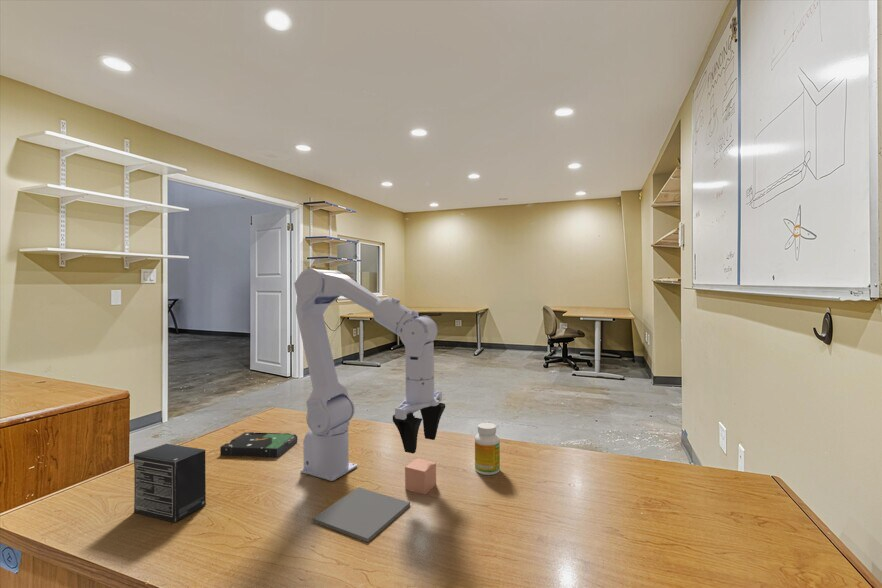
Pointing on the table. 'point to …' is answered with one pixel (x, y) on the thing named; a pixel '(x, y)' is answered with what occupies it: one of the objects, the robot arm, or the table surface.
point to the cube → (420, 476)
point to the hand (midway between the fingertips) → (420, 445)
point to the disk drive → (259, 445)
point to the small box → (169, 481)
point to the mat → (361, 513)
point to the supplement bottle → (487, 450)
